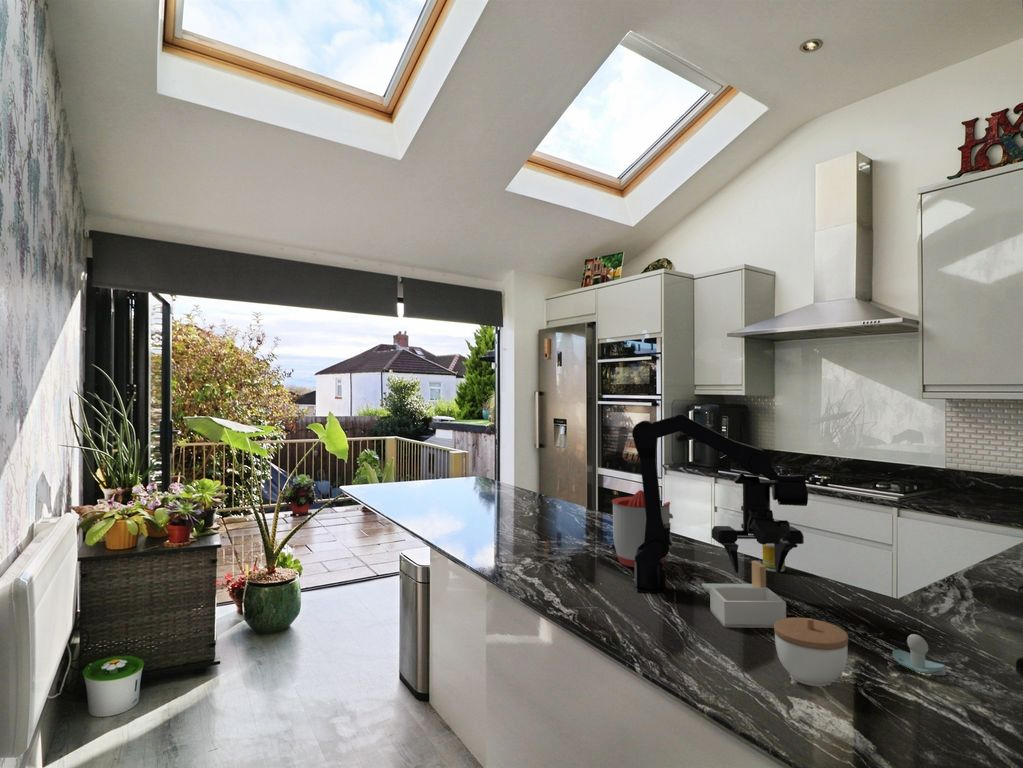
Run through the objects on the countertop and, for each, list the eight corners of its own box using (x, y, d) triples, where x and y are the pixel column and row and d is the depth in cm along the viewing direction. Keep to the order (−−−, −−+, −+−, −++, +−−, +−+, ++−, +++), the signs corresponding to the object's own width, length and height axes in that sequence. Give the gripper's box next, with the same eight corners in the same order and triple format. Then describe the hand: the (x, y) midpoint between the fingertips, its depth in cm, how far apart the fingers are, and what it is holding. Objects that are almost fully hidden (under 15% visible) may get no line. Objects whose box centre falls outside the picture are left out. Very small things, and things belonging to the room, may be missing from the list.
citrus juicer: (688, 567, 156) (687, 492, 157) (632, 575, 150) (632, 496, 150) (653, 553, 171) (653, 484, 171) (601, 559, 164) (601, 487, 165)
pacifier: (905, 659, 102) (888, 666, 99) (905, 622, 102) (888, 628, 99) (954, 676, 96) (937, 684, 93) (954, 637, 96) (937, 644, 93)
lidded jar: (768, 682, 93) (768, 622, 94) (780, 657, 102) (779, 603, 103) (846, 701, 88) (845, 637, 88) (851, 673, 96) (850, 615, 97)
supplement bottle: (770, 565, 158) (770, 529, 158) (789, 570, 154) (788, 533, 154) (758, 568, 155) (758, 532, 155) (777, 573, 151) (776, 536, 151)
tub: (724, 627, 116) (724, 601, 116) (710, 610, 125) (710, 587, 125) (786, 627, 115) (785, 602, 115) (767, 611, 124) (767, 587, 124)
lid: (714, 604, 128) (714, 569, 129) (702, 590, 138) (701, 557, 138) (772, 605, 128) (771, 569, 128) (755, 590, 137) (755, 558, 138)
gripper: (726, 510, 125) (727, 584, 125) (815, 510, 125) (816, 584, 125) (710, 501, 137) (711, 568, 136) (791, 501, 136) (792, 569, 136)
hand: (757, 573), depth 133 cm, fingers open, 9 cm apart
